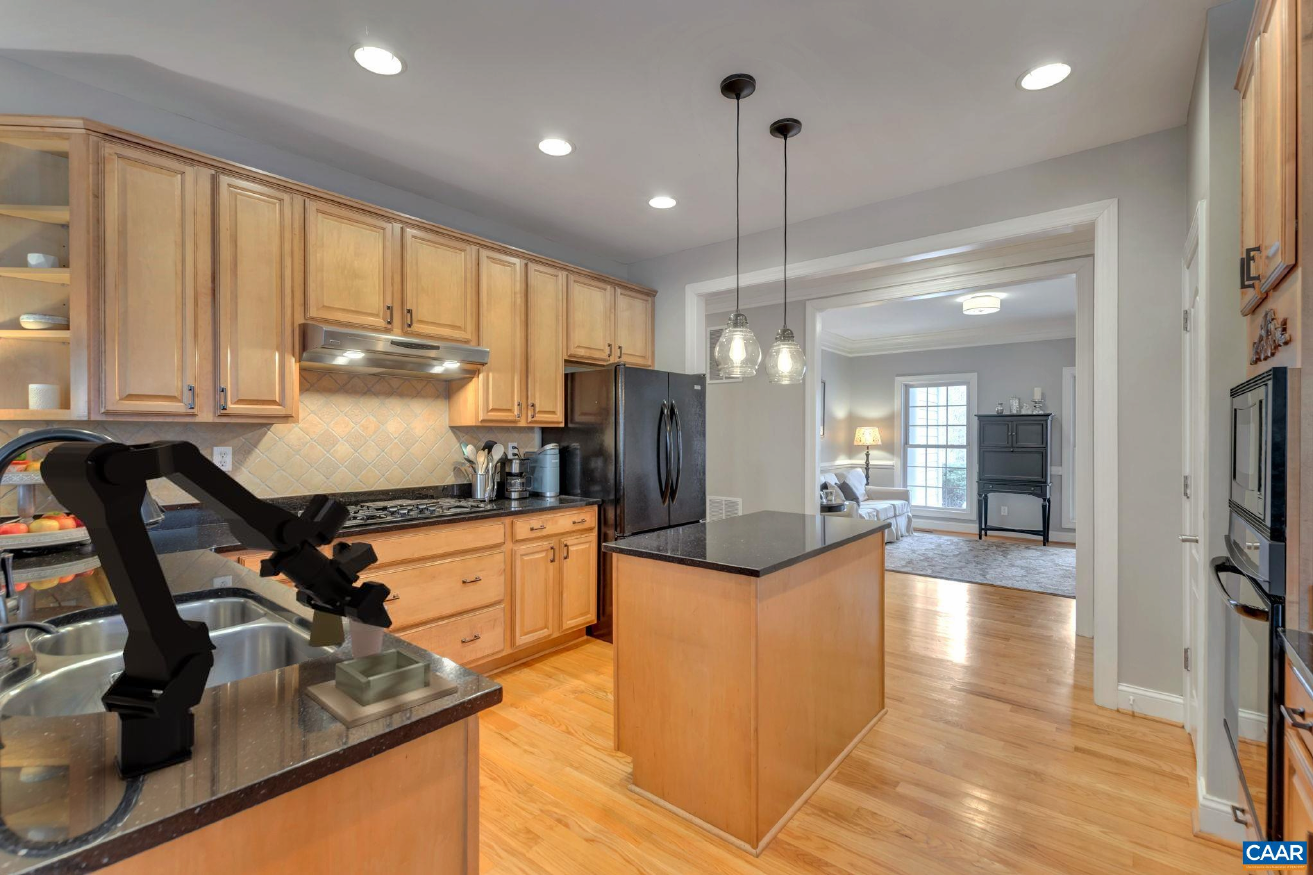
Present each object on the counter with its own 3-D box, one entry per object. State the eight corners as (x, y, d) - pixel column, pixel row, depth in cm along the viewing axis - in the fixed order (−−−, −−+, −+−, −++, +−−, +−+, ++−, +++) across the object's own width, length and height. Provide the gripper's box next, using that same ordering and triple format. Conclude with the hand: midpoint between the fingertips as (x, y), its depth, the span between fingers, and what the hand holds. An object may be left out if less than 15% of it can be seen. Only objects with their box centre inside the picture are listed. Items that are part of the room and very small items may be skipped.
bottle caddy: (349, 728, 80) (349, 694, 80) (306, 693, 91) (306, 664, 91) (458, 691, 92) (458, 662, 92) (409, 664, 103) (409, 638, 103)
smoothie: (336, 669, 100) (337, 586, 101) (366, 656, 107) (367, 578, 107) (367, 674, 98) (368, 589, 98) (395, 661, 104) (396, 581, 105)
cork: (333, 647, 111) (334, 587, 111) (301, 646, 112) (302, 587, 112) (351, 636, 117) (351, 580, 117) (320, 635, 118) (321, 579, 118)
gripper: (380, 533, 94) (438, 589, 104) (314, 524, 104) (373, 575, 113) (330, 594, 88) (396, 648, 97) (265, 578, 97) (331, 628, 107)
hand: (374, 621), depth 104 cm, fingers open, 8 cm apart
